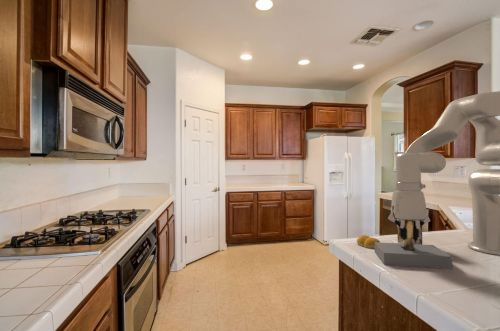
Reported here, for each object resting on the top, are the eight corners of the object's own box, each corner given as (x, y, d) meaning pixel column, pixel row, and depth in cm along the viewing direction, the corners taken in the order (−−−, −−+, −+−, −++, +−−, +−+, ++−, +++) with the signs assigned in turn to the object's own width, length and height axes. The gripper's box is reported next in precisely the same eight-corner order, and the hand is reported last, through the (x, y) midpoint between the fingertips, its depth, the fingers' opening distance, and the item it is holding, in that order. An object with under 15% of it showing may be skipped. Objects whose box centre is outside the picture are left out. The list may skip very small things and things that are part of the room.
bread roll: (373, 250, 99) (373, 240, 99) (353, 244, 107) (353, 235, 107) (385, 246, 104) (384, 237, 104) (365, 241, 111) (365, 232, 111)
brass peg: (412, 246, 89) (411, 218, 89) (415, 249, 86) (415, 220, 86) (402, 246, 90) (402, 218, 90) (405, 248, 87) (405, 220, 87)
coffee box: (423, 250, 98) (422, 209, 98) (405, 249, 100) (404, 209, 100) (413, 242, 107) (412, 205, 107) (396, 242, 109) (396, 205, 109)
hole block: (433, 255, 92) (433, 245, 92) (451, 269, 80) (451, 256, 80) (374, 252, 96) (374, 242, 96) (384, 264, 85) (383, 252, 85)
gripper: (429, 186, 90) (429, 237, 90) (380, 186, 94) (380, 235, 94) (440, 188, 83) (440, 243, 83) (386, 188, 87) (386, 240, 87)
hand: (408, 238), depth 88 cm, fingers closed on brass peg, 3 cm apart
